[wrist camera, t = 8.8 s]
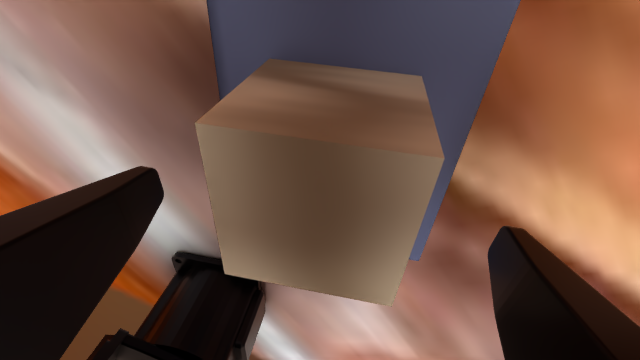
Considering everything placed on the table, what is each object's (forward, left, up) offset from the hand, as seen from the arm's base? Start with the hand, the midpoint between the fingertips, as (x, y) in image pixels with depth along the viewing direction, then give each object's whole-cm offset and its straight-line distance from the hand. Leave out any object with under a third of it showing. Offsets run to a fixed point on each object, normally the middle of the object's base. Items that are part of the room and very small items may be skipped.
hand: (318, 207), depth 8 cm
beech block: (0, 0, -4) cm, 4 cm away
